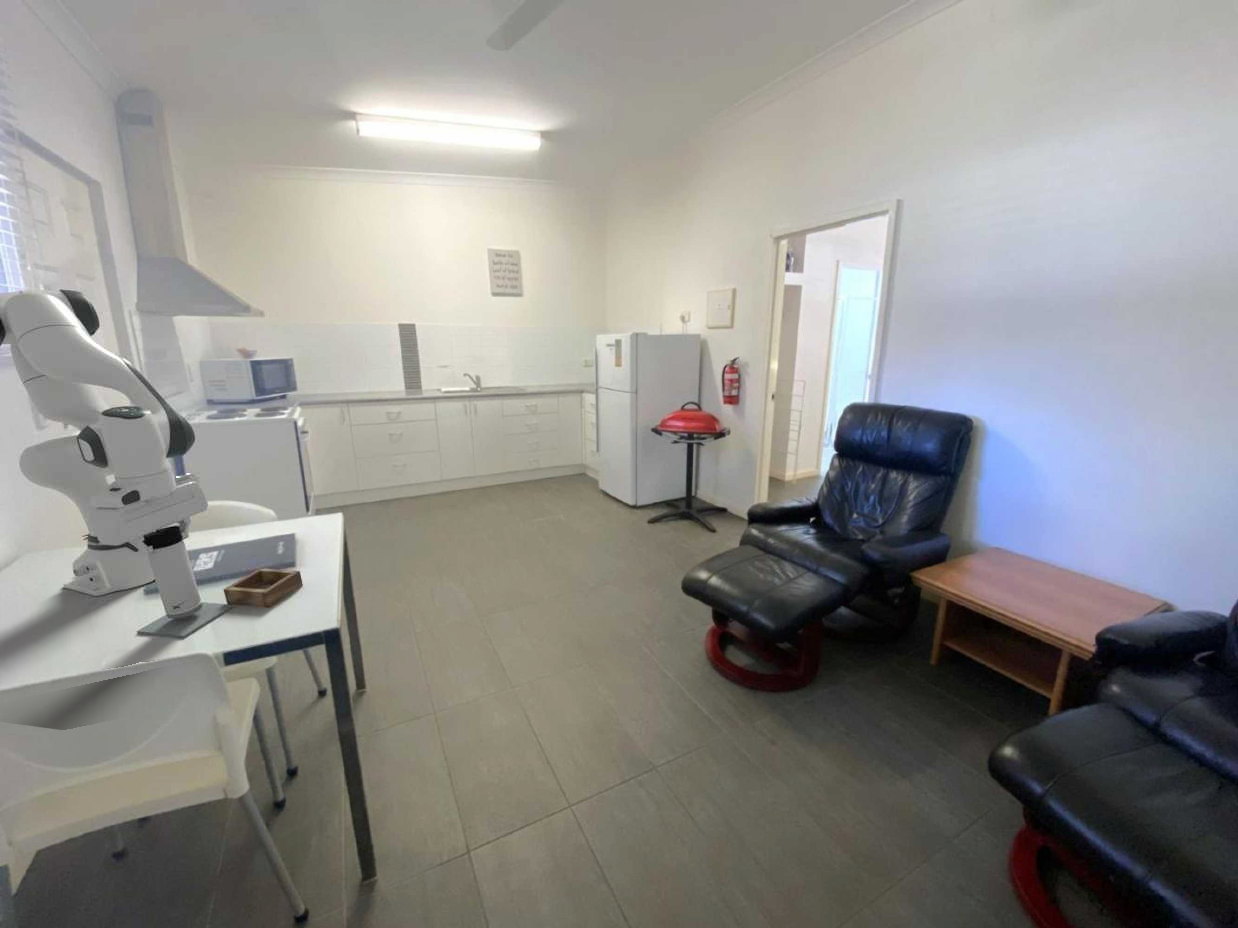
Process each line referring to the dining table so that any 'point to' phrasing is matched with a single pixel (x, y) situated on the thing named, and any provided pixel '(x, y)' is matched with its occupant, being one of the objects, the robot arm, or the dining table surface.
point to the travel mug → (173, 572)
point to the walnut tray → (250, 595)
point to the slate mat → (185, 621)
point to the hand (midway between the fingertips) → (165, 546)
